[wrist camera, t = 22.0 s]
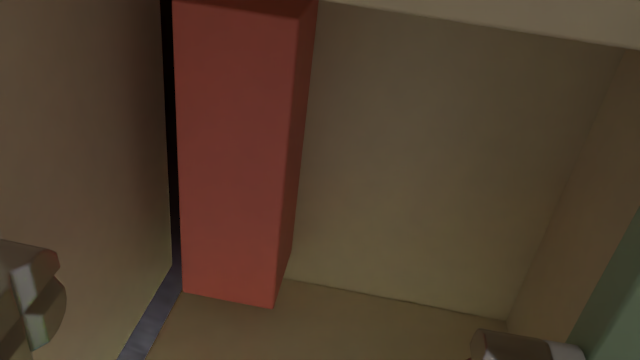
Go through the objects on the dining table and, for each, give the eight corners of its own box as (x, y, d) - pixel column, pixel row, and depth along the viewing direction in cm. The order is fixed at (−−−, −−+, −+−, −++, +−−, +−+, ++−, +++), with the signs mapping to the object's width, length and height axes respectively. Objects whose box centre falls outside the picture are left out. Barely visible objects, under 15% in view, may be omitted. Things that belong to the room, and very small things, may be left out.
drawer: (15, 234, 20) (-166, 406, 14) (-95, -208, 12) (-587, -267, 6) (510, 331, 18) (558, 567, 12) (704, -96, 11) (1051, -37, 5)
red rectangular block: (212, -27, 13) (170, -2, 10) (320, -10, 12) (299, 19, 10) (211, 235, 17) (181, 293, 15) (291, 250, 17) (273, 310, 14)
